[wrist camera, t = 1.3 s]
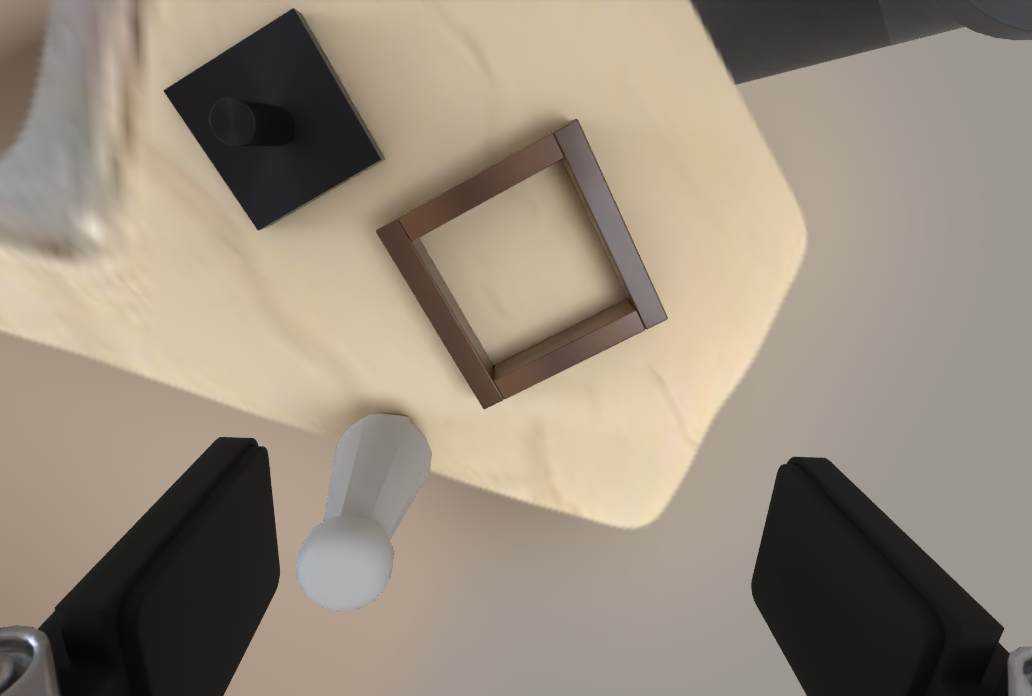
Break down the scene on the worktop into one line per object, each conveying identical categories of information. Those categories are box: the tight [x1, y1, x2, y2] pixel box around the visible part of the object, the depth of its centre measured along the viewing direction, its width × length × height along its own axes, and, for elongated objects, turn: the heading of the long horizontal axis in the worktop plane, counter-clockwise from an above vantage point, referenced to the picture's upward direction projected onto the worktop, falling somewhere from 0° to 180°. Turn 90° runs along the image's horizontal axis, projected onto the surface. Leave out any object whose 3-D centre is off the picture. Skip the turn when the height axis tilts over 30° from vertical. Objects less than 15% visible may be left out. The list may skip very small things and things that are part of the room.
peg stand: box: [164, 8, 385, 230], centre depth 28 cm, size 8×8×6 cm
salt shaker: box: [296, 413, 432, 611], centre depth 31 cm, size 6×6×13 cm
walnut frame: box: [376, 119, 668, 409], centre depth 33 cm, size 12×12×2 cm
